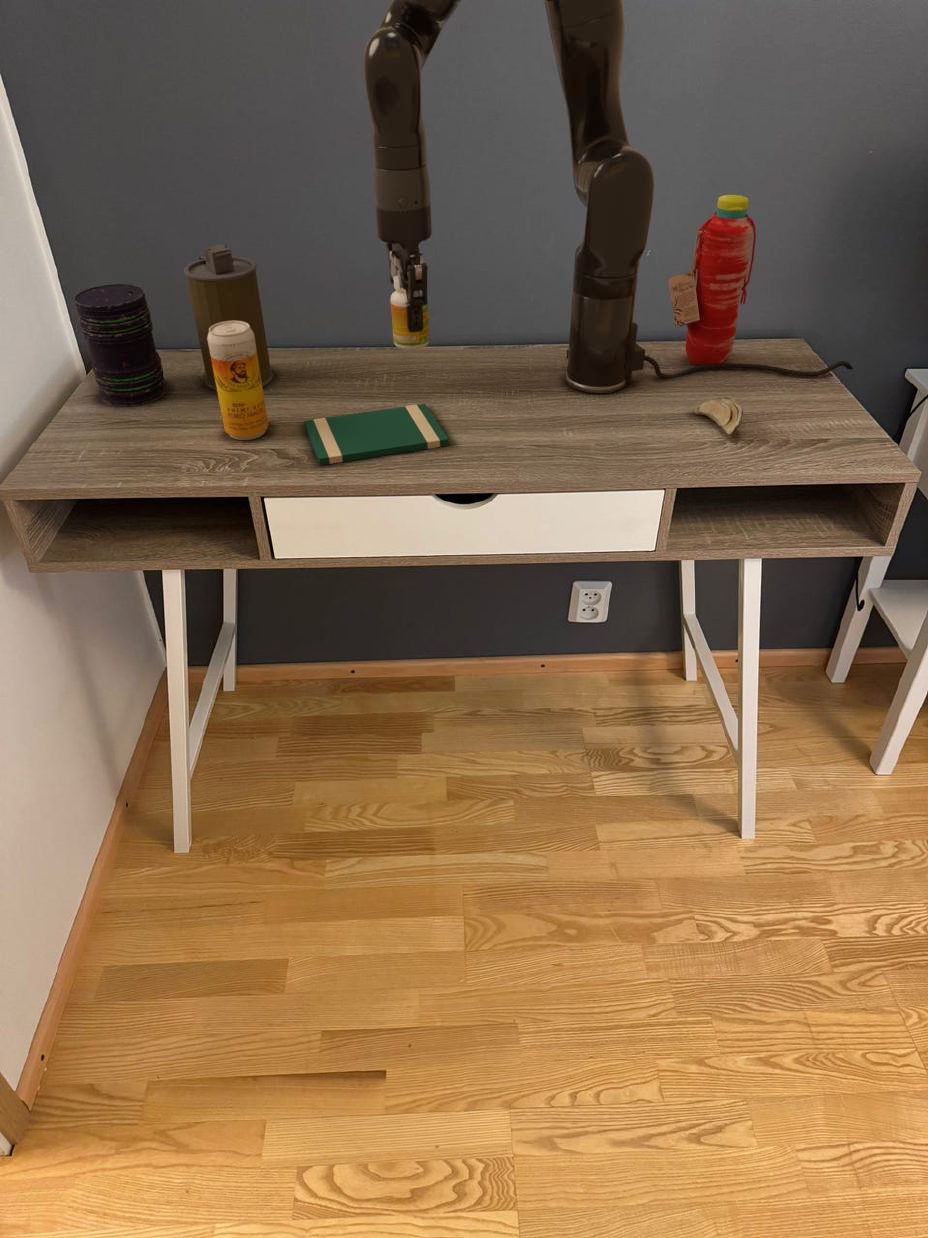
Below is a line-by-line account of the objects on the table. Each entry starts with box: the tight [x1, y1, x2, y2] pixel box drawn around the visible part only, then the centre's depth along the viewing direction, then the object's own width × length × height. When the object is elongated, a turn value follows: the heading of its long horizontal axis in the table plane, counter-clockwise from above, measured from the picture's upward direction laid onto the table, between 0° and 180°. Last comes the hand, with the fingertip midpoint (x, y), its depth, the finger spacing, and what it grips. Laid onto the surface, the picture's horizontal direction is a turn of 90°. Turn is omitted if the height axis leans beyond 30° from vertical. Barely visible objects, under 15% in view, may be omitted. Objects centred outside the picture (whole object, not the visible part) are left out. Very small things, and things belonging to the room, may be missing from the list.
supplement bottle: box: [390, 275, 430, 351], centre depth 129 cm, size 5×5×10 cm
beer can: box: [207, 321, 269, 441], centre depth 121 cm, size 6×6×15 cm
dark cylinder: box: [73, 283, 167, 407], centre depth 131 cm, size 10×10×15 cm
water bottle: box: [668, 194, 757, 366], centre depth 136 cm, size 12×8×25 cm, turn 91°
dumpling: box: [694, 397, 744, 438], centre depth 125 cm, size 6×4×10 cm
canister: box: [183, 243, 274, 392], centre depth 134 cm, size 11×10×20 cm
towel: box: [303, 403, 450, 466], centre depth 124 cm, size 18×12×1 cm, turn 108°
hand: (410, 323), depth 131 cm, fingers closed on supplement bottle, 5 cm apart
